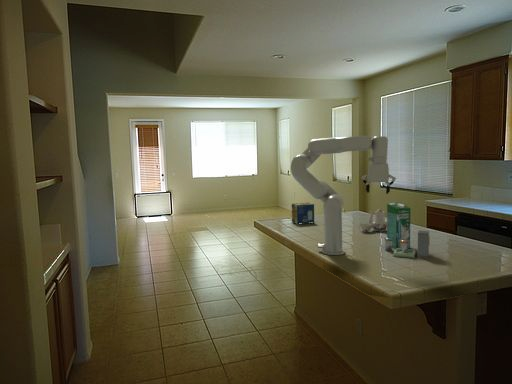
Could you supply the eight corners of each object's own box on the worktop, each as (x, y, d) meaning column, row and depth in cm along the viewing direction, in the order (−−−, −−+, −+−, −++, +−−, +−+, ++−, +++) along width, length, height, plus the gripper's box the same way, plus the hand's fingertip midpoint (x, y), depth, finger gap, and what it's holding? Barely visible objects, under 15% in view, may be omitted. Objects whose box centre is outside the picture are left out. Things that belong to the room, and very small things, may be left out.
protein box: (291, 222, 307) (291, 203, 306) (309, 221, 312) (308, 202, 310) (296, 224, 297) (296, 205, 296) (314, 223, 302) (314, 203, 300)
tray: (393, 256, 198) (393, 252, 198) (395, 251, 207) (395, 248, 207) (414, 258, 194) (414, 254, 194) (415, 253, 203) (415, 249, 203)
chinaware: (358, 235, 258) (358, 212, 255) (358, 228, 274) (358, 206, 271) (402, 236, 252) (403, 212, 248) (399, 229, 267) (400, 206, 264)
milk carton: (396, 249, 213) (396, 204, 211) (386, 245, 222) (387, 203, 220) (410, 247, 216) (410, 203, 213) (400, 244, 224) (400, 202, 222)
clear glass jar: (384, 251, 210) (384, 238, 209) (385, 249, 214) (385, 237, 213) (392, 251, 208) (392, 239, 207) (393, 249, 212) (393, 237, 211)
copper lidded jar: (399, 254, 200) (399, 240, 199) (400, 252, 203) (400, 239, 203) (408, 254, 198) (408, 241, 197) (409, 252, 201) (409, 239, 201)
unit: (417, 257, 195) (417, 233, 194) (418, 253, 202) (418, 230, 201) (429, 258, 193) (429, 233, 192) (429, 254, 199) (430, 231, 198)
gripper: (360, 160, 198) (359, 192, 200) (396, 160, 190) (394, 194, 192) (363, 159, 204) (362, 191, 206) (397, 160, 197) (395, 193, 199)
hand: (377, 193), depth 199 cm, fingers open, 9 cm apart
